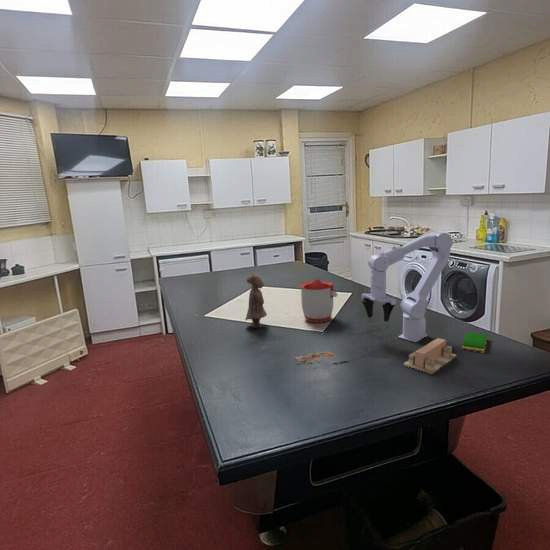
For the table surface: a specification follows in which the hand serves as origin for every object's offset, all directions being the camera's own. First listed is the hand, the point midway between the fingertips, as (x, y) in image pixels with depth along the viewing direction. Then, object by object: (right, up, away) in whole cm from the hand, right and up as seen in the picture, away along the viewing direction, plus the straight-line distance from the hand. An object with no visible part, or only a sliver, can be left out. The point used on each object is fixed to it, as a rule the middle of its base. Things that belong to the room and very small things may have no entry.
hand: (378, 318), depth 154 cm
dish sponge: (+35, -10, -6) cm, 37 cm away
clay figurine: (-50, -7, +27) cm, 57 cm away
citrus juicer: (-20, -4, +32) cm, 38 cm away
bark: (-26, -14, -13) cm, 32 cm away
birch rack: (+13, -13, -18) cm, 26 cm away
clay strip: (+13, -12, -19) cm, 26 cm away
